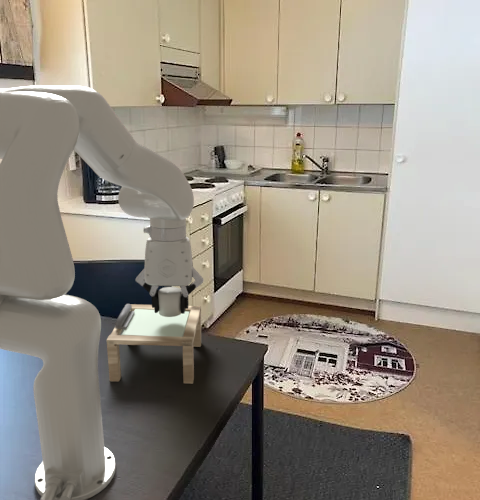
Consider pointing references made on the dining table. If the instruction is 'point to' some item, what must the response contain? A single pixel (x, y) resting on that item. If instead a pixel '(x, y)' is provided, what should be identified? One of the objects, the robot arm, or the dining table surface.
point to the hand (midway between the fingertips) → (170, 310)
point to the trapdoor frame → (158, 343)
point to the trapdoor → (150, 323)
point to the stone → (169, 301)
